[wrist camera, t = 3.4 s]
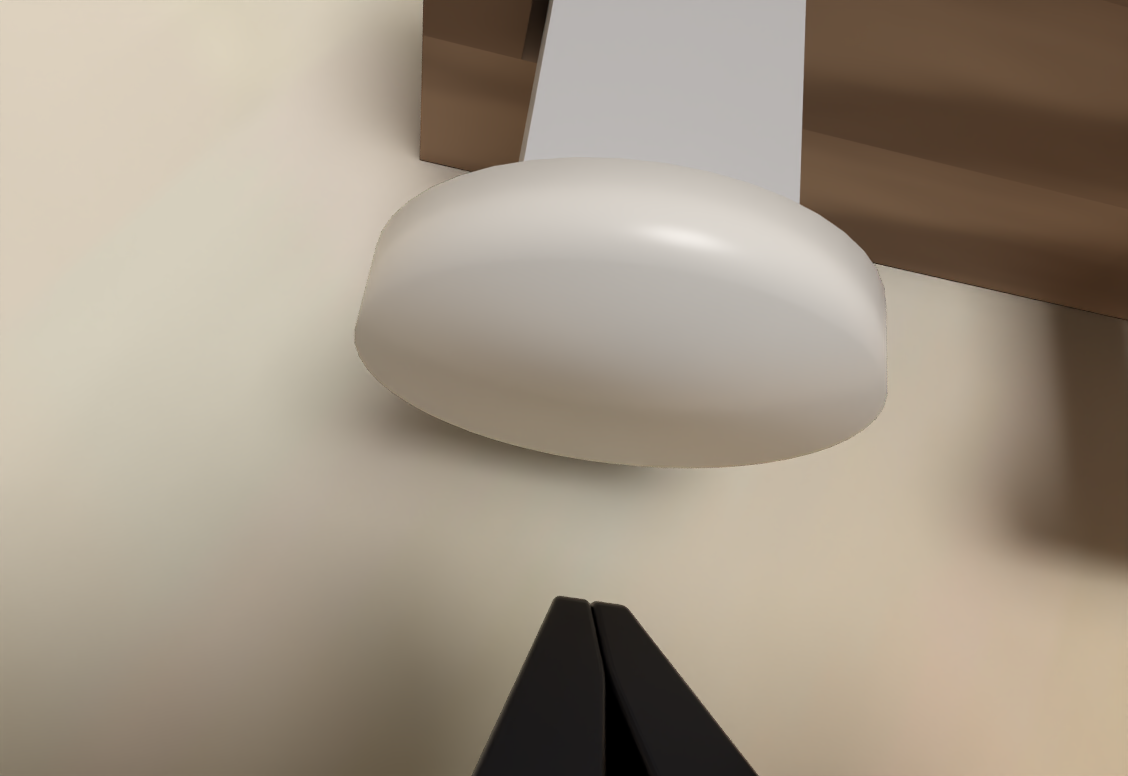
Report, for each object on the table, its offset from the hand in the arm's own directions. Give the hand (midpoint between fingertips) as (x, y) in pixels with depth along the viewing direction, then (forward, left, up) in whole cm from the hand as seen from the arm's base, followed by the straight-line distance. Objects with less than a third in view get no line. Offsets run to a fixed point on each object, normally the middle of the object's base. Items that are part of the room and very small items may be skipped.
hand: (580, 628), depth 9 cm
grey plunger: (+5, -6, -4) cm, 9 cm away
